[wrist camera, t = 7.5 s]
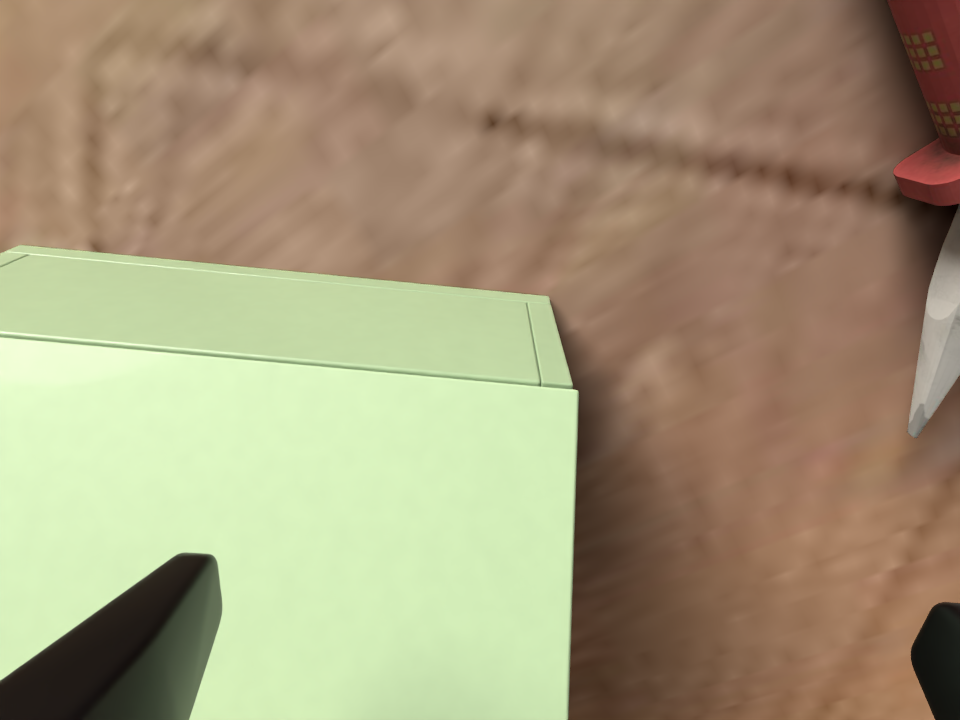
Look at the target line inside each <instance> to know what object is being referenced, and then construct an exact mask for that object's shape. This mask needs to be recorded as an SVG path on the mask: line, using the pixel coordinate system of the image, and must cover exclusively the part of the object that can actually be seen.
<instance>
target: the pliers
mask: <svg viewBox="0 0 960 720" xmlns="http://www.w3.org/2000/svg"><path fill="white" fill-rule="evenodd" d="M887 2H888V4H889V7H890V9H891V12H892V15H893V17H894V20H895V23H896V25H897V28H898V30H899V33H900V36H901V38H902V41H903V44H904V46H905V49H906V51H907V54H908V57H909V59H910V62H911V65H912V67H913V70H914V72H915V75H916V78H917V80H918V83H919V86H920V88H921V91H922V93H923V96H924V99H925V101H926V104H927V107H928V109H929V112H930V114H931V117H932V120H933V122H934V125H935V128H936V130H937V133H938V135H939V138H938V139H936V140H935V141H933V142H932V143H930V144H928V145H927V146H925V147H923V148H922V149H920V150H918V151H917V152H915V153H914V154H912V155H910V156H909V157H907V158H905V159H904V160H903V161H901V162H900V163H899V164H898V165H897V166H896V167H895V168H894V171H893V173H894V176H895V178H896V180H897V183H898V185H899V188H900V190H901V192H902V194H903V195H904V196H907V197H910V198H913V199H916V200H920V201H923V202H926V203H930V204H933V205H937V206H948V205H955V204H959V203H960V0H887ZM959 375H960V204H959V207H958V209H957V212H956V214H955V217H954V219H953V222H952V224H951V227H950V229H949V232H948V234H947V237H946V239H945V241H944V244H943V246H942V249H941V252H940V255H939V258H938V261H937V264H936V267H935V270H934V273H933V276H932V280H931V283H930V286H929V291H928V297H927V303H926V309H925V316H924V323H923V330H922V336H921V343H920V350H919V357H918V363H917V370H916V377H915V384H914V390H913V397H912V404H911V411H910V417H909V424H908V431H907V432H908V433H909V434H910V435H911V436H912V437H914V438H917V437H918V436H919V434H920V433H921V431H922V430H923V428H924V427H925V426H926V424H927V423H928V421H929V420H930V418H931V417H932V415H933V414H934V412H935V411H936V409H937V408H938V406H939V405H940V403H941V402H942V400H943V399H944V397H945V396H946V394H947V393H948V391H949V390H950V388H951V387H952V385H953V384H954V382H955V381H956V379H957V378H958V376H959Z"/></svg>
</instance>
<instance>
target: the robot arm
mask: <svg viewBox="0 0 960 720" xmlns="http://www.w3.org/2000/svg"><path fill="white" fill-rule="evenodd" d="M222 606H223V605H222V595H221V587H220V578H219V570H218V563H217V560H216V558H215V557H214V556H213V555H211V554H204V553H188V552H184V553H180V554H177V555H175V556H174V557H172V558H171V559H169V560H168V561H167V562H165V563H164V564H162V565H161V566H160V567H158V568H157V569H155V570H154V571H153V572H151V573H150V574H148V575H147V576H146V577H144V578H143V579H141V580H140V581H139V582H137V583H136V584H134V585H133V586H132V587H130V588H129V589H127V590H126V591H125V592H123V593H122V594H120V595H119V596H118V597H116V598H115V599H113V600H112V601H111V602H109V603H108V604H106V605H105V606H104V607H102V608H101V609H99V610H98V611H97V612H95V613H94V614H92V615H91V616H90V617H88V618H87V619H85V620H84V621H83V622H81V623H80V624H78V625H77V626H76V627H74V628H73V629H71V630H70V631H69V632H67V633H66V634H64V635H63V636H62V637H60V638H59V639H57V640H56V641H55V642H53V643H52V644H51V645H49V646H48V647H46V648H45V649H44V650H42V651H41V652H39V653H38V654H37V655H35V656H34V657H32V658H31V659H30V660H28V661H27V662H25V663H24V664H23V665H21V666H20V667H18V668H17V669H16V670H14V671H13V672H11V673H10V674H9V675H7V676H6V677H4V678H3V679H2V680H0V720H189V719H190V715H191V712H192V709H193V706H194V703H195V700H196V697H197V694H198V691H199V687H200V684H201V681H202V678H203V675H204V672H205V669H206V666H207V662H208V659H209V656H210V653H211V650H212V647H213V644H214V641H215V637H216V634H217V631H218V628H219V625H220V621H221V616H222ZM911 661H912V665H913V668H914V671H915V673H916V676H917V678H918V680H919V683H920V685H921V687H922V690H923V692H924V694H925V697H926V699H927V701H928V704H929V706H930V708H931V711H932V713H933V716H934V718H935V720H960V603H949V602H942V603H938V604H936V605H935V606H934V607H933V608H932V609H931V611H930V612H929V614H928V616H927V618H926V620H925V622H924V624H923V626H922V628H921V630H920V632H919V633H918V635H917V637H916V639H915V641H914V643H913V645H912V649H911Z"/></svg>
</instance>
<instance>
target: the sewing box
mask: <svg viewBox="0 0 960 720" xmlns="http://www.w3.org/2000/svg"><path fill="white" fill-rule="evenodd" d="M0 337H4V338H14V339H25V340H36V341H47V342H58V343H69V344H80V345H91V346H102V347H113V348H124V349H135V350H146V351H157V352H167V353H178V354H189V355H200V356H211V357H222V358H233V359H244V360H255V361H266V362H277V363H288V364H299V365H310V366H321V367H331V368H342V369H353V370H364V371H375V372H386V373H397V374H408V375H419V376H430V377H441V378H452V379H463V380H474V381H484V382H495V383H506V384H517V385H528V386H539V387H550V388H561V389H573V383H572V380H571V376H570V372H569V369H568V365H567V362H566V358H565V354H564V351H563V347H562V343H561V340H560V336H559V332H558V329H557V325H556V321H555V318H554V314H553V311H552V307H551V303H550V300H549V297H548V296H540V295H530V294H520V293H509V292H499V291H489V290H478V289H468V288H458V287H447V286H437V285H427V284H417V283H406V282H396V281H386V280H375V279H365V278H355V277H345V276H334V275H324V274H314V273H303V272H293V271H283V270H273V269H262V268H252V267H242V266H231V265H221V264H211V263H201V262H190V261H180V260H170V259H159V258H149V257H139V256H129V255H118V254H108V253H98V252H87V251H77V250H67V249H57V248H46V247H36V246H26V245H20V246H17V247H15V248H12V249H10V250H7V251H5V252H3V253H1V254H0Z"/></svg>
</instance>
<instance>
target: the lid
mask: <svg viewBox="0 0 960 720" xmlns="http://www.w3.org/2000/svg"><path fill="white" fill-rule="evenodd" d="M578 408H579V392H578V391H577V390H572V389H561V388H550V387H539V386H528V385H517V384H506V383H495V382H484V381H474V380H463V379H452V378H441V377H430V376H419V375H408V374H397V373H386V372H375V371H364V370H353V369H342V368H331V367H321V366H310V365H299V364H288V363H277V362H266V361H255V360H244V359H233V358H222V357H211V356H200V355H189V354H178V353H167V352H157V351H146V350H135V349H124V348H113V347H102V346H91V345H80V344H69V343H58V342H47V341H36V340H25V339H14V338H4V337H0V680H2V679H3V678H4V677H6V676H7V675H9V674H10V673H11V672H13V671H14V670H16V669H17V668H18V667H20V666H21V665H23V664H24V663H25V662H27V661H28V660H30V659H31V658H32V657H34V656H35V655H37V654H38V653H39V652H41V651H42V650H44V649H45V648H46V647H48V646H49V645H51V644H52V643H53V642H55V641H56V640H57V639H59V638H60V637H62V636H63V635H64V634H66V633H67V632H69V631H70V630H71V629H73V628H74V627H76V626H77V625H78V624H80V623H81V622H83V621H84V620H85V619H87V618H88V617H90V616H91V615H92V614H94V613H95V612H97V611H98V610H99V609H101V608H102V607H104V606H105V605H106V604H108V603H109V602H111V601H112V600H113V599H115V598H116V597H118V596H119V595H120V594H122V593H123V592H125V591H126V590H127V589H129V588H130V587H132V586H133V585H134V584H136V583H137V582H139V581H140V580H141V579H143V578H144V577H146V576H147V575H148V574H150V573H151V572H153V571H154V570H155V569H157V568H158V567H160V566H161V565H162V564H164V563H165V562H167V561H168V560H169V559H171V558H172V557H174V556H175V555H177V554H180V553H184V552H188V553H204V554H211V555H213V556H214V557H215V558H216V560H217V563H218V570H219V578H220V587H221V595H222V605H223V606H222V616H221V621H220V625H219V628H218V631H217V634H216V637H215V641H214V644H213V647H212V650H211V653H210V656H209V659H208V662H207V666H206V669H205V672H204V675H203V678H202V681H201V684H200V687H199V691H198V694H197V697H196V700H195V703H194V706H193V709H192V712H191V715H190V719H189V720H568V714H569V683H570V653H571V622H572V592H573V561H574V530H575V500H576V469H577V439H578Z"/></svg>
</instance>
